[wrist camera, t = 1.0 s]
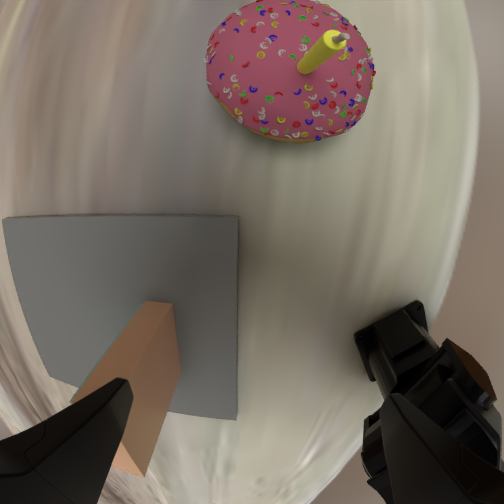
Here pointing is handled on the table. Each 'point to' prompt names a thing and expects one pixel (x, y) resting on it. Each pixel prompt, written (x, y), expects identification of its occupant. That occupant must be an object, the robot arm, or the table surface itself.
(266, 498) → the table surface
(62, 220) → the board
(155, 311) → the tile
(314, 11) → the cupcake
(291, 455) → the table surface
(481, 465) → the robot arm
